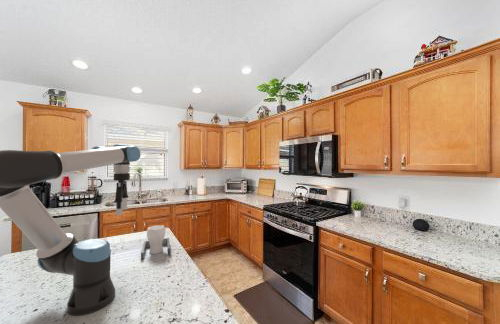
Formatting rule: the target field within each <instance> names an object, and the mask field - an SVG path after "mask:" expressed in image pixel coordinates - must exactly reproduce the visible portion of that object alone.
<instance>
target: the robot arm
mask: <svg viewBox="0 0 500 324" xmlns="http://www.w3.org/2000/svg"><path fill="white" fill-rule="evenodd" d="M141 155H142V154H141V149H140V148H139V147H138V146H136V145H128V144H123V143H121V144H120V143H117V144H116V143H115V144H114V145H113V146H102V145H100V146H99V145H96V146H93V147H91V149H84V150H73V151H71V150H70V151H64V152H63V151H61V152H55V151H54V150H41V151H39V150H17V149H16V150H15V149H13V150H12V149H10V150H9V149H4V150H0V210H1V211H3V213H4V214H5V215H6V216H7V217H8V218H9V219H10V220H11V222H13V223H14V224H15V226H16V227H17V228H18V229H19V230H20V231H21V232H22V233H23V234H24V236H25V237H26V238H27V239H28V240H29V241H30V242H31V243H32V244H33V245H34V246H35V247H36V249H37V251H36V253H35V254H36V255H35V256H36V257H37V258H38V259H37V264H38V266H39V268H40V269H41V270H43V271H45V272H47V273H52V274H56V273H57V274H61V275H62V274H63V275H69V276H73V279H72V280H73V282H72V284H73V286H72V287H73V288H72V290H71V293H70V295H69V297H68V301H67V304H66V312H67V313H68V315H71V316H82V315H87V314H91V313H94V312H96V311H98V310H99V311H100V310H101V309H102V308H105V307H106V306H107V305H109V304H110V303H111V302H112V301H114V299H115V298H116V288H115V285H114V283H113V280H112V278H111V258H112V257H111V253H112V249H111V246H110V245H111V244H110V242H109V241H108V240H106V239H102V238H89V239H85V240H82V241H78V240H77V239H76V237H75V236H74V235H73V234H72V233H70V232H65V231H64V230H63V229H62V228H61V226H60V225H59V224H58V222H57V220H55V219H54V217H53V216H52V215H51V213H50V211H48V209H47V207H45V205H44V204H43V203H42V202H41V200H40V199H39V197H37V195H36V193H34V191H33V190H32V189H31V187H30V186H31V185H35V184H38V183H43V182H47V181H50V180H55V179H58V178H60V177H61V176H62V175H65V174H70V173H75V172H76V173H77V172H81V171H85V170H90V169H95V168H96V169H97V168H101V167H105V166H106V167H107V166H111V165H113V169H112V170H113V173H114V174H113V181H118V182H116V186H115V197H114V198H115V200H114V201H113V202H114V203H115V215H116V216H121V215H123V211H125V210H128V198H129V197H130V195H128V186H127V183H128V182H127V181H130V180H131V174H130V170H131V169H132V167H131V164H130V163H132V162H133V163H134V162H137V161H139V160H140V158H141Z"/></svg>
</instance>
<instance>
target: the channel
mask: <svg viewBox="0 0 500 324" xmlns="http://www.w3.org/2000/svg"><path fill="white" fill-rule="evenodd" d="M170 242H171V241H170V237H166V238H165V237H164V239H163V242H162V246H167V256H170V255H171V247H170V246H171V245H170ZM147 248H150V242H149V240H144V241H143V244H142V248H141V251H140V260H141V261H142V260H144V259H145V253H146V249H147Z"/></svg>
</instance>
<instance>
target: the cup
mask: <svg viewBox="0 0 500 324" xmlns="http://www.w3.org/2000/svg"><path fill="white" fill-rule="evenodd" d="M165 236H166V227H165V225H162V224H159V225H158V224H156V225H152V226H149V227H147V231H146V238H147V241H149V242H150V247H149V254H150V255H151V254H152V255H157V254H159V253H160V254H161V253H162V252H163V251H164V248H163V245H162V242H163V239H165Z"/></svg>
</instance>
